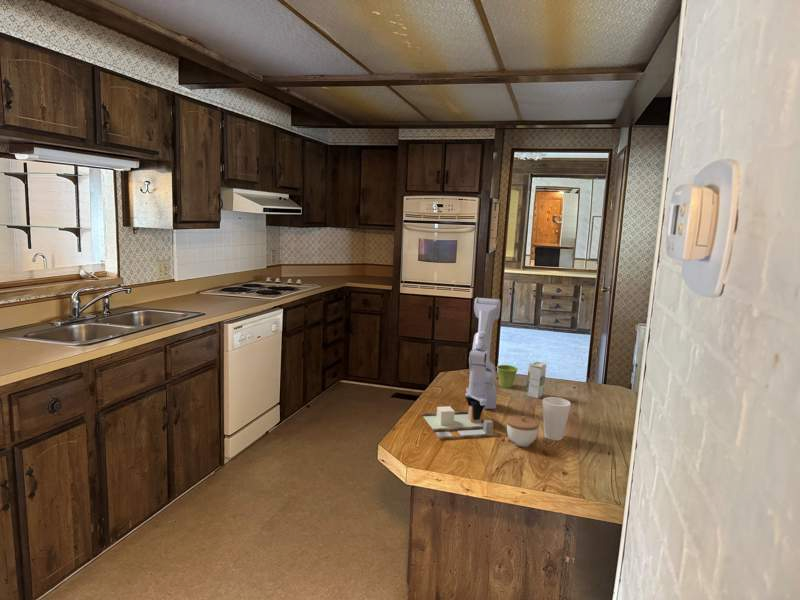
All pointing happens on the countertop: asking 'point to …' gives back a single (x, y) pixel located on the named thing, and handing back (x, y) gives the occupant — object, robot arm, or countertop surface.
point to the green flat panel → (456, 421)
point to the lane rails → (448, 435)
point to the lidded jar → (522, 430)
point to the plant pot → (506, 375)
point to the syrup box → (536, 379)
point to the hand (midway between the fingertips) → (474, 417)
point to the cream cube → (445, 415)
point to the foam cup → (555, 417)
